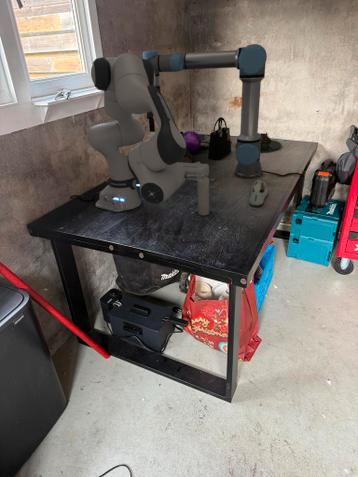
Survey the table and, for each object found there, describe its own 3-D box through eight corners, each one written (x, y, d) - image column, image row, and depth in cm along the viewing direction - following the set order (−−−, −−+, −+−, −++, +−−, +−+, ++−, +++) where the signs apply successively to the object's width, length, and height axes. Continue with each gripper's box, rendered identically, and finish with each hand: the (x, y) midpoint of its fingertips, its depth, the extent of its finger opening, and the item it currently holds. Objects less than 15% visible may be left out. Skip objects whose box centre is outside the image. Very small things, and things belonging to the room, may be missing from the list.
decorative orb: (204, 151, 235) (204, 129, 228) (194, 156, 225) (193, 134, 217) (186, 149, 243) (186, 128, 235) (175, 154, 232) (174, 132, 224)
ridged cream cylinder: (195, 212, 150) (194, 169, 140) (206, 209, 152) (205, 167, 142) (201, 216, 146) (200, 172, 136) (211, 213, 147) (211, 170, 137)
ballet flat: (269, 188, 169) (270, 173, 165) (265, 208, 149) (266, 191, 145) (252, 187, 171) (253, 172, 167) (246, 206, 151) (247, 190, 147)
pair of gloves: (197, 151, 236) (197, 144, 233) (182, 143, 257) (182, 137, 254) (233, 145, 246) (233, 137, 243) (216, 138, 266) (216, 131, 264)
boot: (194, 157, 223) (193, 127, 213) (188, 169, 203) (187, 135, 193) (182, 157, 225) (180, 127, 215) (174, 168, 205) (172, 136, 194)
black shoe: (250, 138, 260) (251, 126, 256) (289, 145, 237) (291, 132, 233) (223, 147, 242) (223, 134, 237) (263, 155, 219) (264, 141, 215)
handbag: (219, 160, 214) (219, 120, 202) (206, 159, 218) (206, 119, 206) (232, 152, 229) (233, 114, 216) (220, 151, 233) (220, 114, 221)
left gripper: (202, 168, 101) (214, 155, 113) (142, 164, 108) (159, 153, 119) (202, 187, 105) (214, 173, 116) (144, 182, 111) (160, 170, 122)
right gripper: (153, 83, 178) (157, 124, 189) (137, 88, 157) (141, 134, 168) (167, 82, 176) (169, 123, 187) (151, 88, 156) (155, 134, 166)
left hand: (185, 163), depth 118 cm, fingers open, 8 cm apart
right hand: (156, 128), depth 177 cm, fingers open, 13 cm apart
